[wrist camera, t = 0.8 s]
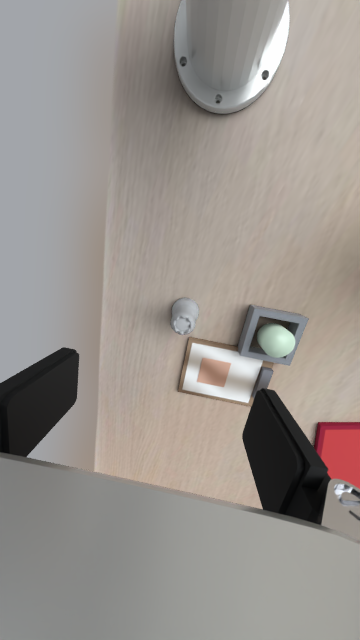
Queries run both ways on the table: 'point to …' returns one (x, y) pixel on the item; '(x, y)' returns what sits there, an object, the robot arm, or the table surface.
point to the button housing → (254, 312)
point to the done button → (275, 340)
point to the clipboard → (222, 372)
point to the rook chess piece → (184, 316)
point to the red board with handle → (340, 449)
